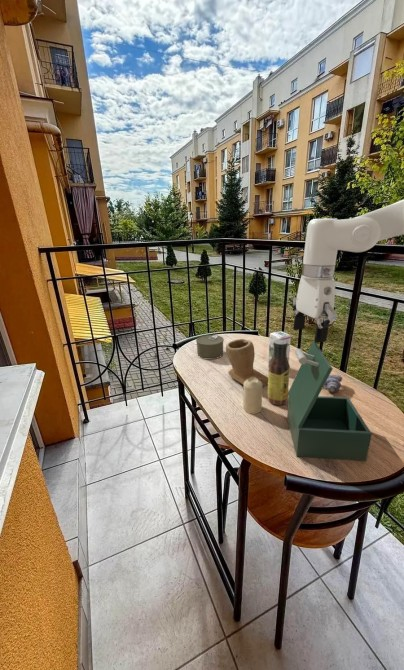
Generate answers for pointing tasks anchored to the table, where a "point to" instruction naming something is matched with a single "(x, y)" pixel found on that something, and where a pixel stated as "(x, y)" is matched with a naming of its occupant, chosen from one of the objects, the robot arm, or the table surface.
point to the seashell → (333, 383)
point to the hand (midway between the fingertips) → (308, 335)
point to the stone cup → (243, 361)
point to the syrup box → (278, 336)
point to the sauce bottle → (278, 374)
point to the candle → (252, 395)
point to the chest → (331, 431)
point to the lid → (308, 382)
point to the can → (210, 346)
